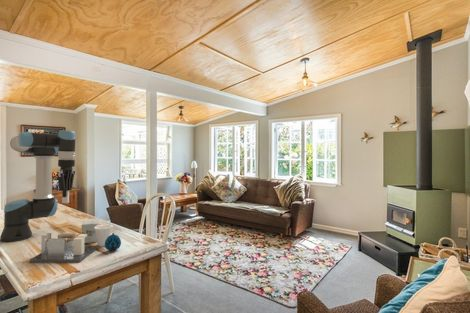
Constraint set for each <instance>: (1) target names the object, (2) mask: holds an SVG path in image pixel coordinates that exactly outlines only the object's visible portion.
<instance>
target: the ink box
mask: <svg viewBox="0 0 470 313" xmlns="http://www.w3.org/2000/svg"><path fill="white" fill-rule="evenodd" d="M98 225H99V220H98V219H93V220H85V221H83V222H82V223H81V234H87V237H85V242H84V244H88V243H89V244H90V243H91V244H92V243H97V239H96V233H95V229H94V227H95V226H98Z"/></svg>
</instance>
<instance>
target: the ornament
mask: <svg viewBox="0 0 470 313" xmlns="http://www.w3.org/2000/svg"><path fill="white" fill-rule="evenodd" d="M121 244H122V239H121V238H120V236H118V234H115V233H114V232H113V233H112V232H111V235H110V236H109V237H108V238H107V239H106V241H105V246H104V247H105V249H106V251H111V252H113V251H117V250H118V249H120V247H121Z"/></svg>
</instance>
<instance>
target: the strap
mask: <svg viewBox="0 0 470 313" xmlns="http://www.w3.org/2000/svg"><path fill="white" fill-rule="evenodd" d="M75 238H76V237H75ZM75 238H61V239H67V241H74V239H75ZM48 240H49V239H47V242H48Z"/></svg>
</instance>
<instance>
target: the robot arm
mask: <svg viewBox="0 0 470 313" xmlns="http://www.w3.org/2000/svg"><path fill="white" fill-rule="evenodd" d="M9 144H10V148H11V149H12V150H13V151H15V152H18V153H23V154H32V157H33V158H35V196H33V197H32V200H29V199H28V198H21V199H16V200H12V201H9V202H7V203H6V204H4V208H3V214H4V215H3V216H4V217H3V218H4V220H3V222H4V223H3V229H2V232H1V234H0V242H2V243H3V242H4V243H6V242H7V243H11V242H18V241H24V240H27V239H29V238H31V237H32V236H33V231H32V230H31V227H30V224H29V220H34V219H43V218H49V217H53V216H54V215H56V213H57V211H58V207H59V206H58V205H59V204H58V199H57V198H55V195H54V194H53V192H52V191H53V190H52V189H53V185H52V184H53V180H52V179H53V159H54V158H55V156H56V155H57V159H58V160H57V161H58V162H57V166H58V167H60V168H59V172H57V173H56V177H57V182H58V189H59V191H60V192H62V198H61V200H62V201H61V202H62V204H69V203H70V191H72V188H73V184H74V179H75V178H74V177H75V174H76V171H75V170H73V168H74V167H75V166H76V160H75V159H76V158H75V157H76V131H73V130H59V131H58V133H49V132H48V133H47V132H46V133H44V132H43V133H42V132H30V131H25V132H24V131H21V132H19V134H18V135H16V136H13V137H12V138H11V139H10V141H9Z"/></svg>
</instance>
